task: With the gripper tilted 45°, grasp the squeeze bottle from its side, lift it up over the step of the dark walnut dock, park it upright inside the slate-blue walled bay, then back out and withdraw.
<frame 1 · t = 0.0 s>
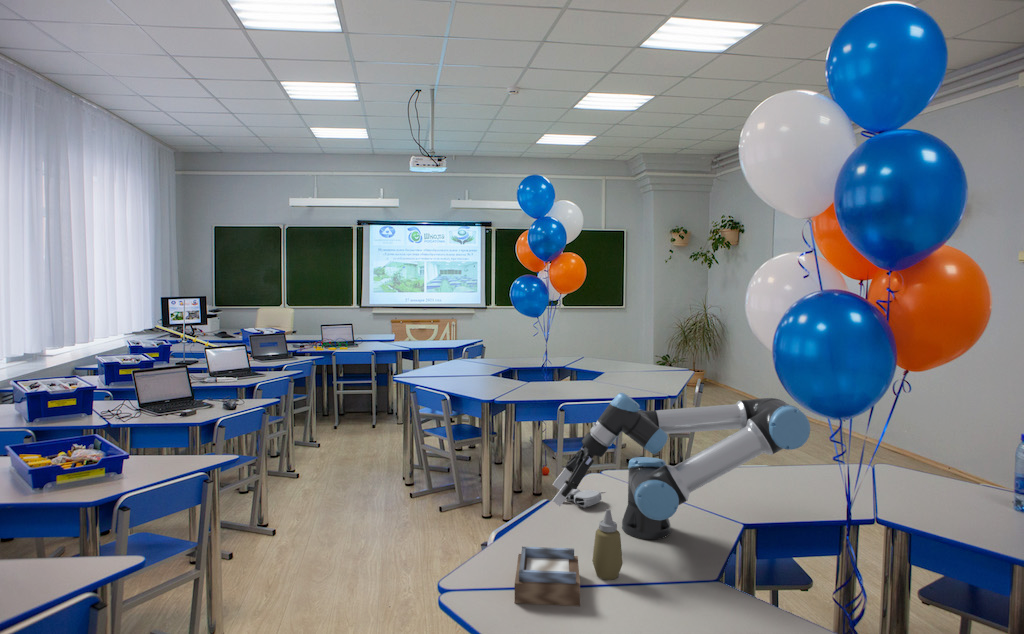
hand: (556, 494, 178), 15 cm above the table, tool tilted 35°, fingers open, 13 cm apart
dock: (547, 587, 154), on the table
robot toy: (580, 503, 214), on the table
squeeze bottle: (607, 576, 160), on the table
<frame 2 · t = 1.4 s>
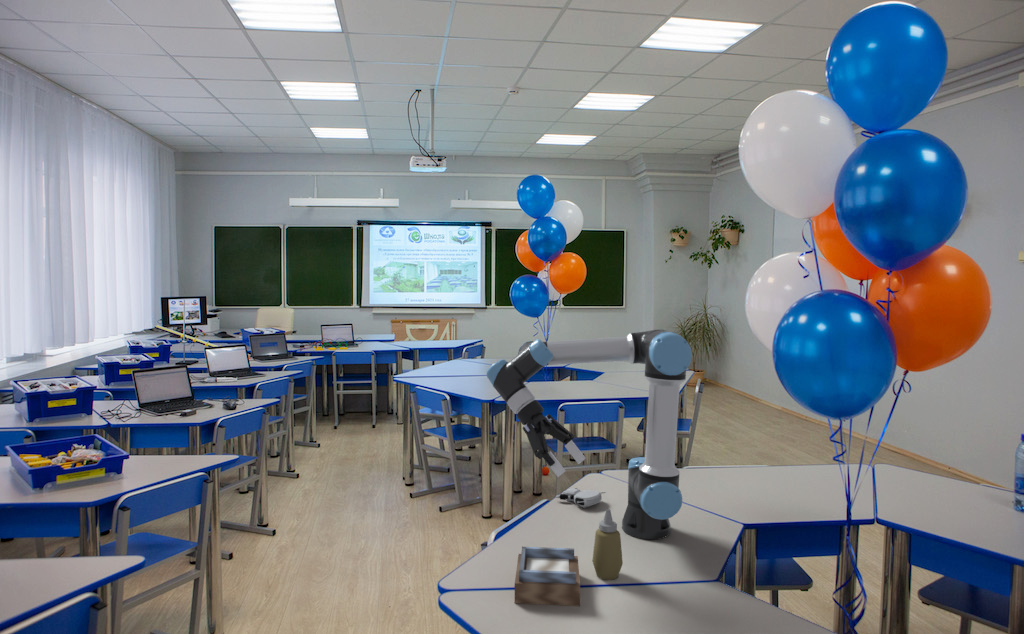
hand: (572, 467, 164), 28 cm above the table, tool tilted 45°, fingers open, 13 cm apart
nothing on the table moved.
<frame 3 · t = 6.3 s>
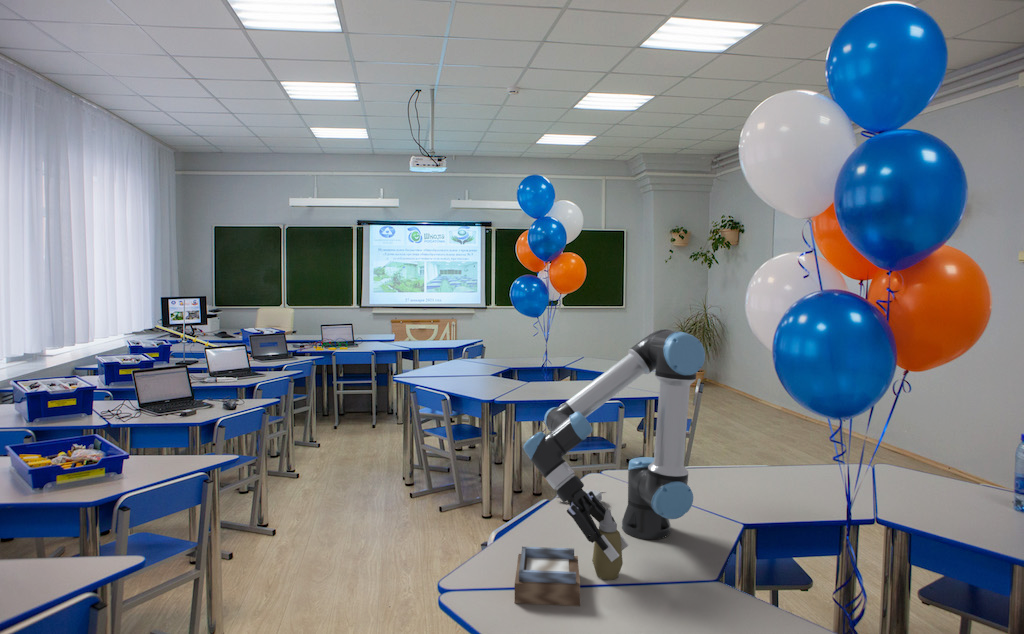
hand: (620, 553, 158), 7 cm above the table, tool tilted 45°, fingers closed on squeeze bottle, 6 cm apart
squeeze bottle: (607, 576, 160), on the table, touching gripper
everything else where it was.
when the fingers open (13 cm above the table, at t = 12.5 s): squeeze bottle stays where it is, resting on dock.
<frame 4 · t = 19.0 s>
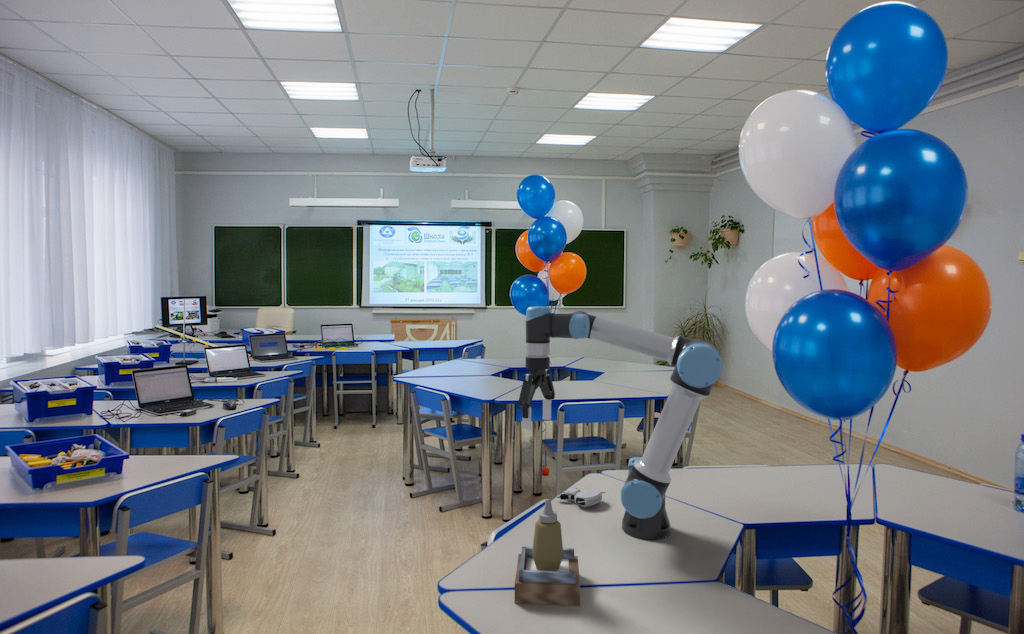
hand: (537, 423, 186), 35 cm above the table, tool pointing down, fingers open, 13 cm apart
squeeze bottle: (547, 568, 153), point 5 cm above the table, touching dock
everything else where it was.
at the end: squeeze bottle inside the target area on the dock (0.1 cm from its centre), point 5.0 cm above the dock's base; squeeze bottle tilted 0°; the gripper is holding nothing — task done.
